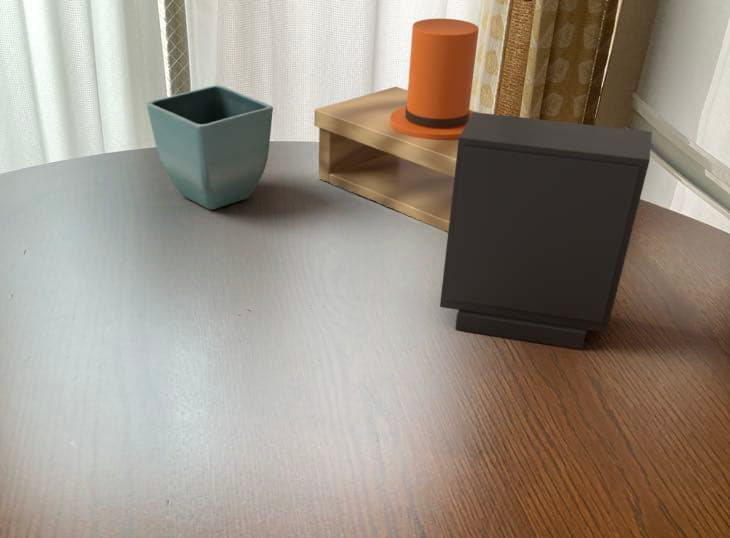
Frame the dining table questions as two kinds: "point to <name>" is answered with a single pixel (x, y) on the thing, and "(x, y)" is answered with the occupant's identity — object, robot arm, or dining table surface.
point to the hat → (439, 80)
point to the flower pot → (212, 143)
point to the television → (540, 226)
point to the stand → (386, 157)
